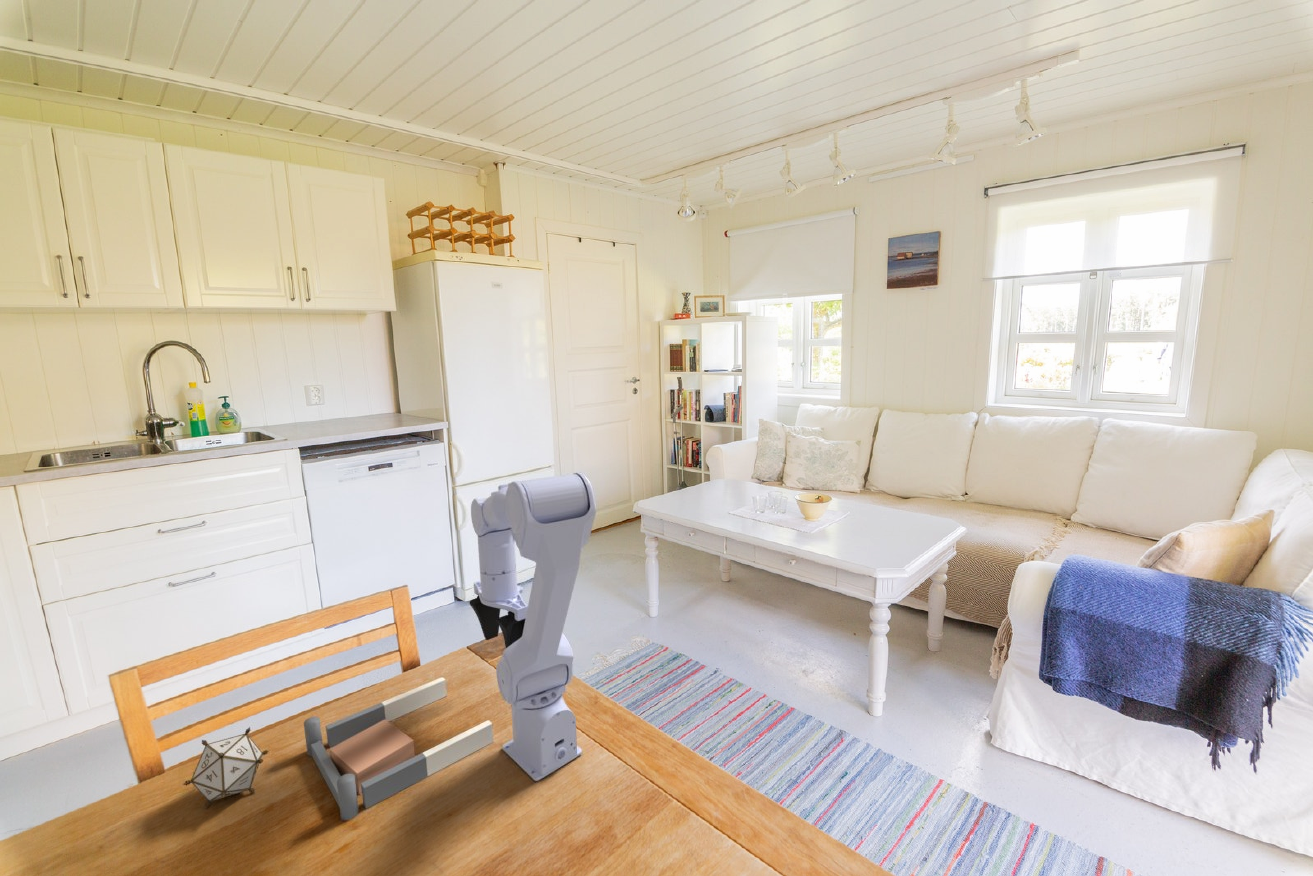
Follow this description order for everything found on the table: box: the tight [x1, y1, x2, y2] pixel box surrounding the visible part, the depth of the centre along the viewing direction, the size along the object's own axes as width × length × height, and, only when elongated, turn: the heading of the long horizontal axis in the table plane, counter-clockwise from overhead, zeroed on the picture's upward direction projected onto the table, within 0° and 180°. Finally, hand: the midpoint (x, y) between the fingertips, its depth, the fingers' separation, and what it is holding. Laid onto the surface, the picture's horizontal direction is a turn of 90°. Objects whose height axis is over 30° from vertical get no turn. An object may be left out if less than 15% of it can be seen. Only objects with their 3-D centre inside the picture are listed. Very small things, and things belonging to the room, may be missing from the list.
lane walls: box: [381, 676, 494, 777], centre depth 89 cm, size 17×10×3 cm, turn 44°
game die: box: [182, 726, 270, 810], centre depth 76 cm, size 9×8×10 cm
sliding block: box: [329, 719, 416, 796], centre depth 82 cm, size 8×8×4 cm
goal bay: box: [303, 701, 429, 822], centre depth 82 cm, size 18×11×5 cm, turn 44°
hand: (502, 645), depth 96 cm, fingers open, 7 cm apart
